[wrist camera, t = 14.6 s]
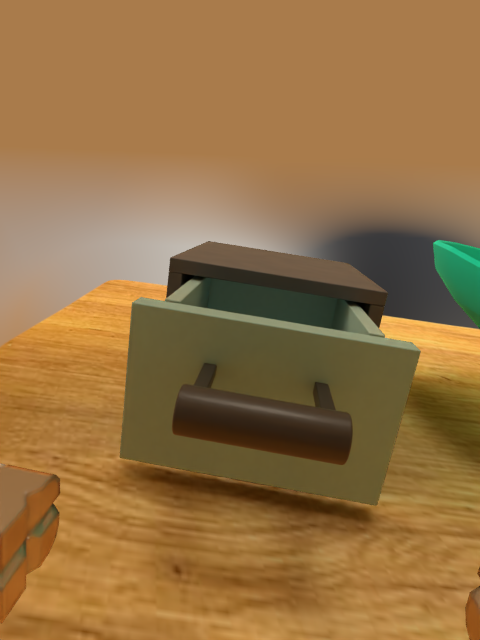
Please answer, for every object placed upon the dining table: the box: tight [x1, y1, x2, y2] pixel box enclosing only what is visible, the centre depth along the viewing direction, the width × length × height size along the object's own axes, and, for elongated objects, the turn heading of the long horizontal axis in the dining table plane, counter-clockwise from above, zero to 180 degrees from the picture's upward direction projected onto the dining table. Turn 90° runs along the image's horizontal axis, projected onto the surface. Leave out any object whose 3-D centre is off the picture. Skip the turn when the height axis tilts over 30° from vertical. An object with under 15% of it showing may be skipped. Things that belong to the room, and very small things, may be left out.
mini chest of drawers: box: [166, 241, 388, 328], centre depth 34 cm, size 15×14×10 cm
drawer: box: [120, 276, 421, 505], centre depth 23 cm, size 18×13×8 cm
